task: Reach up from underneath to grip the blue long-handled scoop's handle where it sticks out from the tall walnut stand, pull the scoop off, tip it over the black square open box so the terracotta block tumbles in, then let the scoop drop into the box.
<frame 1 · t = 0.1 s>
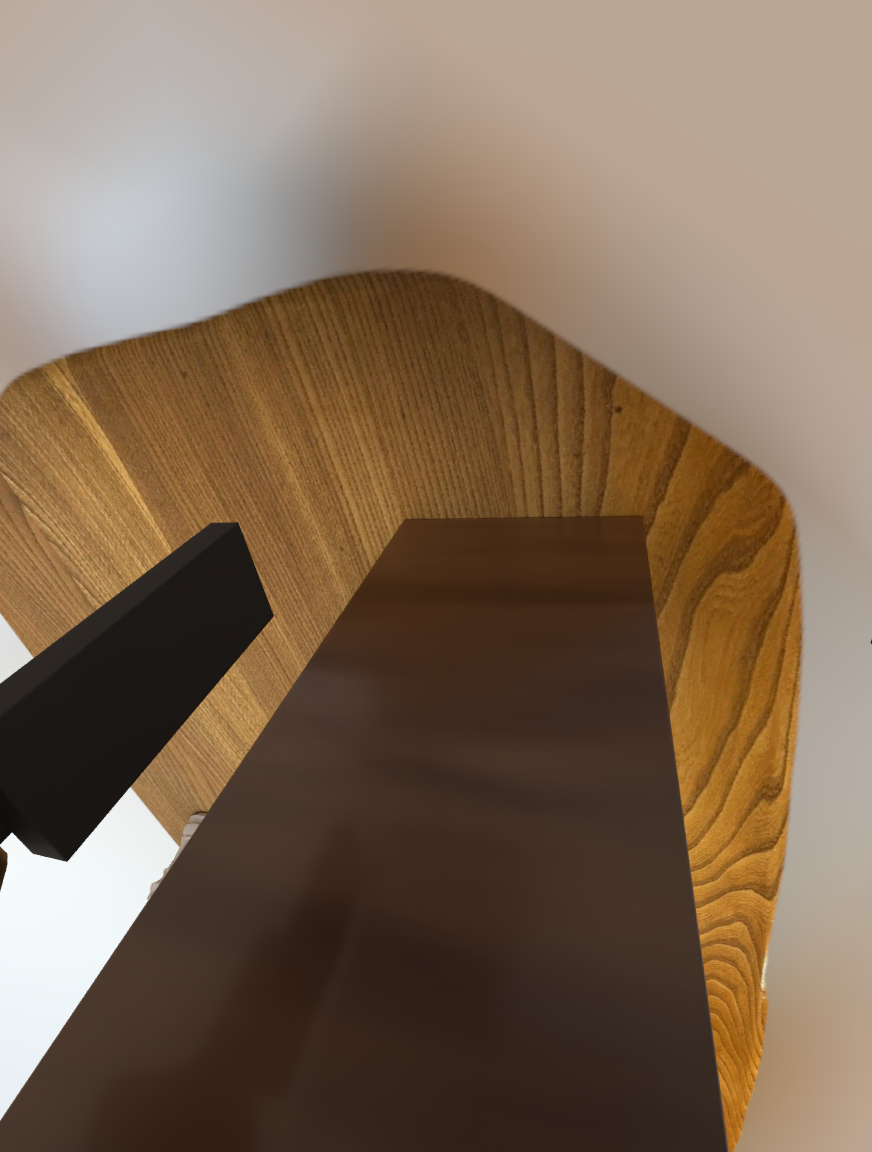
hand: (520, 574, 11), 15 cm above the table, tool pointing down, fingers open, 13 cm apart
rook chess piece: (212, 822, 55), on the table
stand: (520, 583, 29), on the table
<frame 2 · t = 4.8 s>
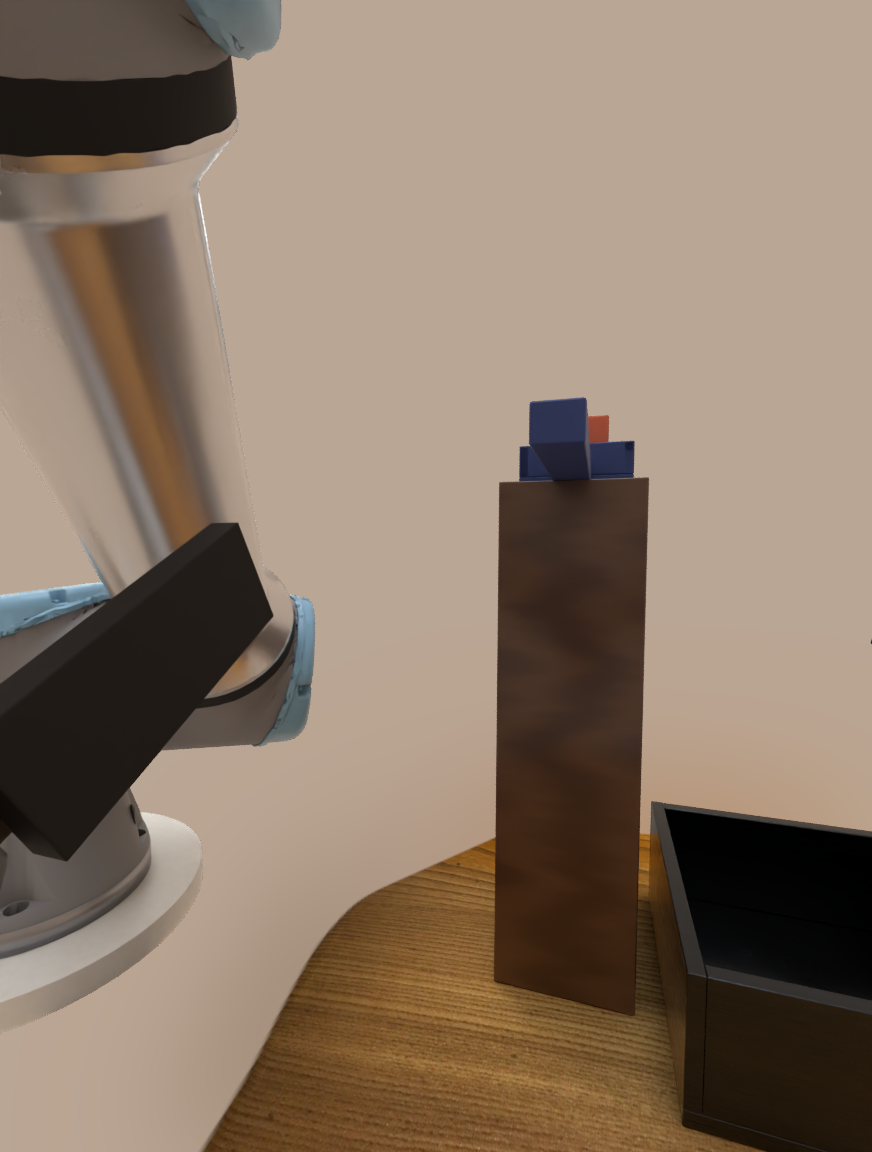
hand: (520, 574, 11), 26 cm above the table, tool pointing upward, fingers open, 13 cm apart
block: (576, 482, 36), point 31 cm above the table, touching blue long-handled scoop
blue long-handled scoop: (574, 487, 33), point 30 cm above the table, touching block, stand
stand: (567, 926, 36), on the table
black square open box: (821, 1018, 29), on the table
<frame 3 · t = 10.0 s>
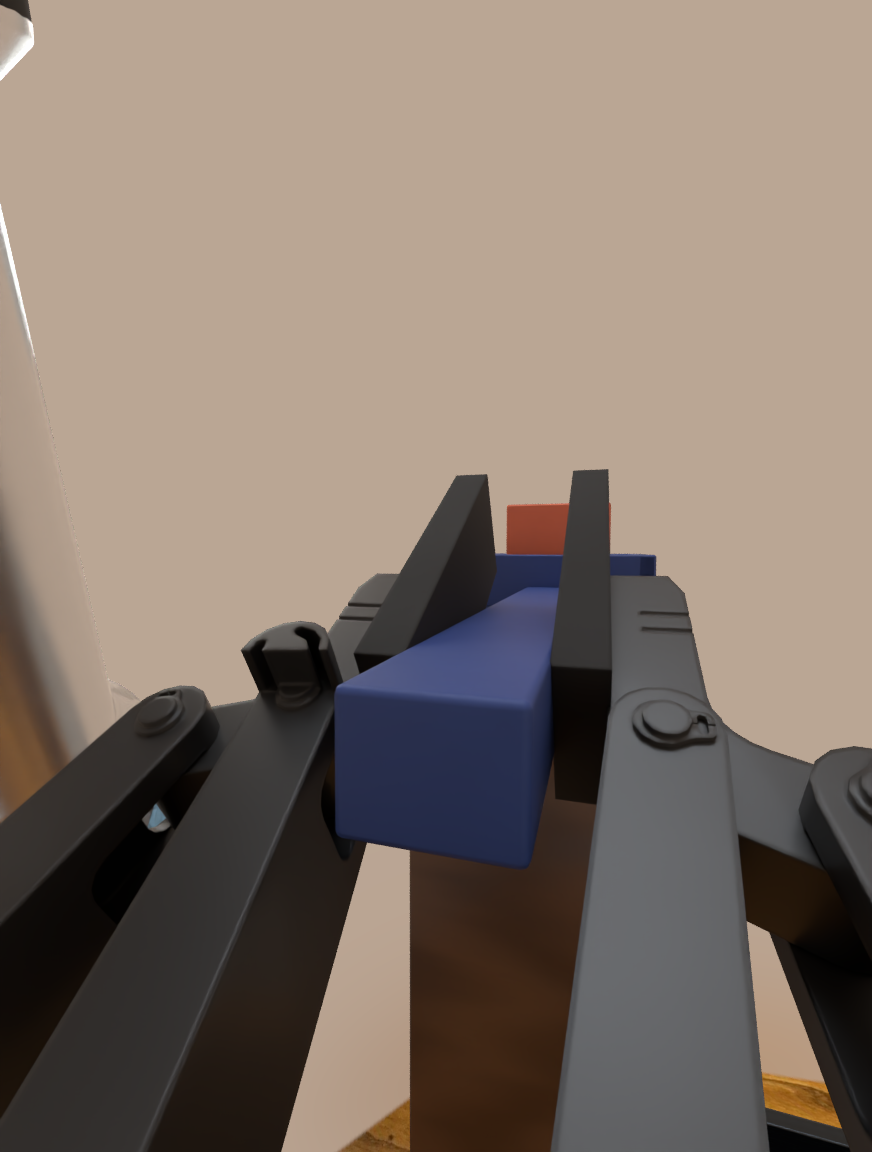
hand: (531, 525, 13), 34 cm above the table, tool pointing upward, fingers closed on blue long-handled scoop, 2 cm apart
block: (559, 600, 23), point 31 cm above the table, touching blue long-handled scoop
blue long-handled scoop: (551, 632, 19), point 30 cm above the table, touching block, gripper, stand
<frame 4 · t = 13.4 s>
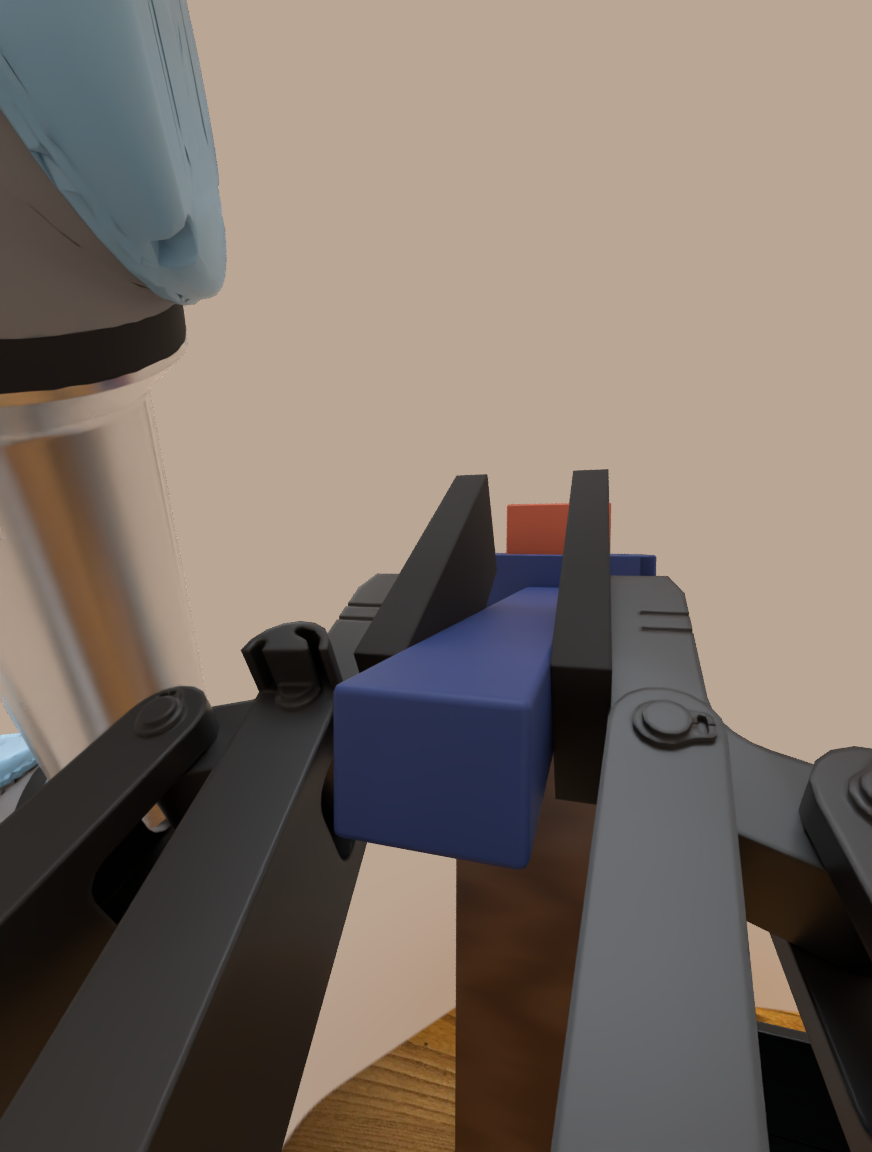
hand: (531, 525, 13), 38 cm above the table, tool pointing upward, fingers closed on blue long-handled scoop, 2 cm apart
block: (559, 600, 23), point 35 cm above the table, touching blue long-handled scoop
blue long-handled scoop: (551, 632, 19), point 34 cm above the table, touching block, gripper
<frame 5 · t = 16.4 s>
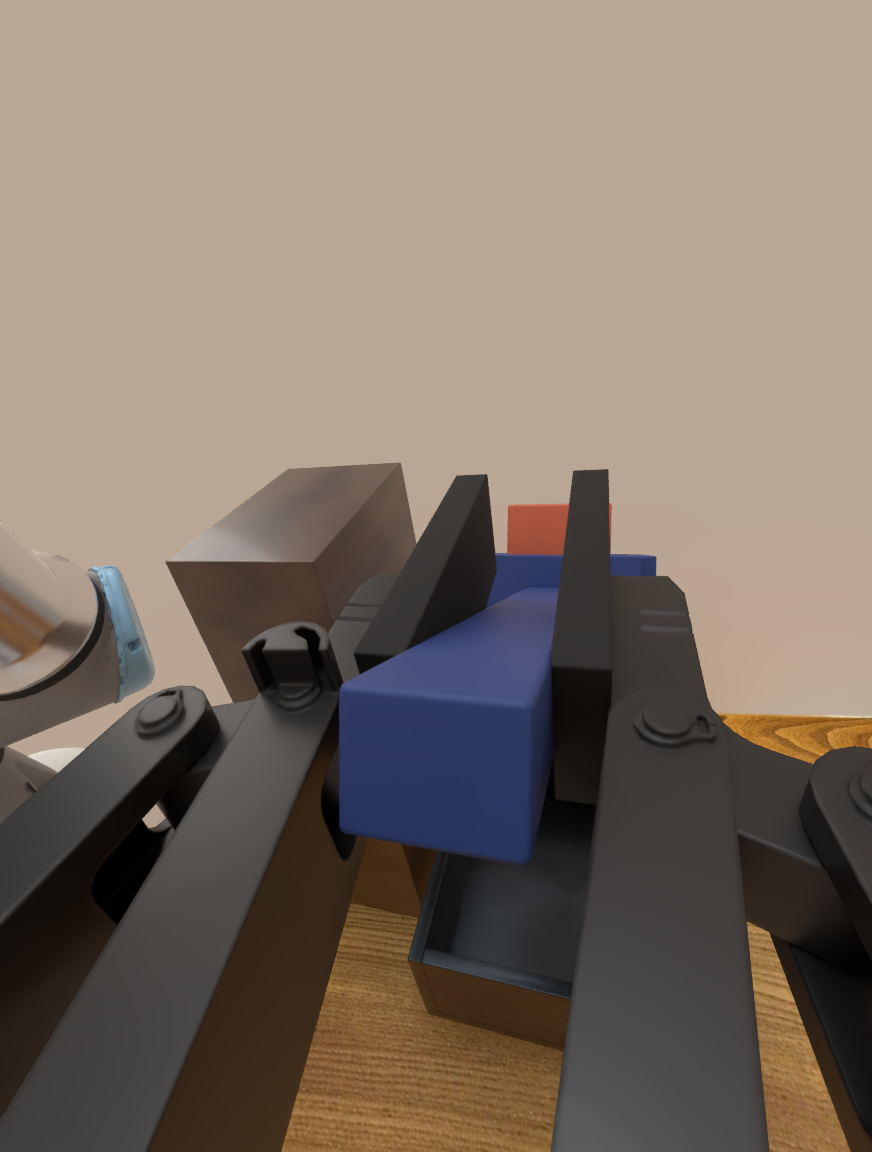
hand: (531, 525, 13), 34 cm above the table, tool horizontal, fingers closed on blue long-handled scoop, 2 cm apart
block: (559, 600, 23), point 27 cm above the table, tilted 30°, touching blue long-handled scoop
blue long-handled scoop: (551, 632, 19), point 28 cm above the table, tilted 30°, touching block, gripper
stand: (400, 833, 44), on the table
black square open box: (570, 903, 37), on the table
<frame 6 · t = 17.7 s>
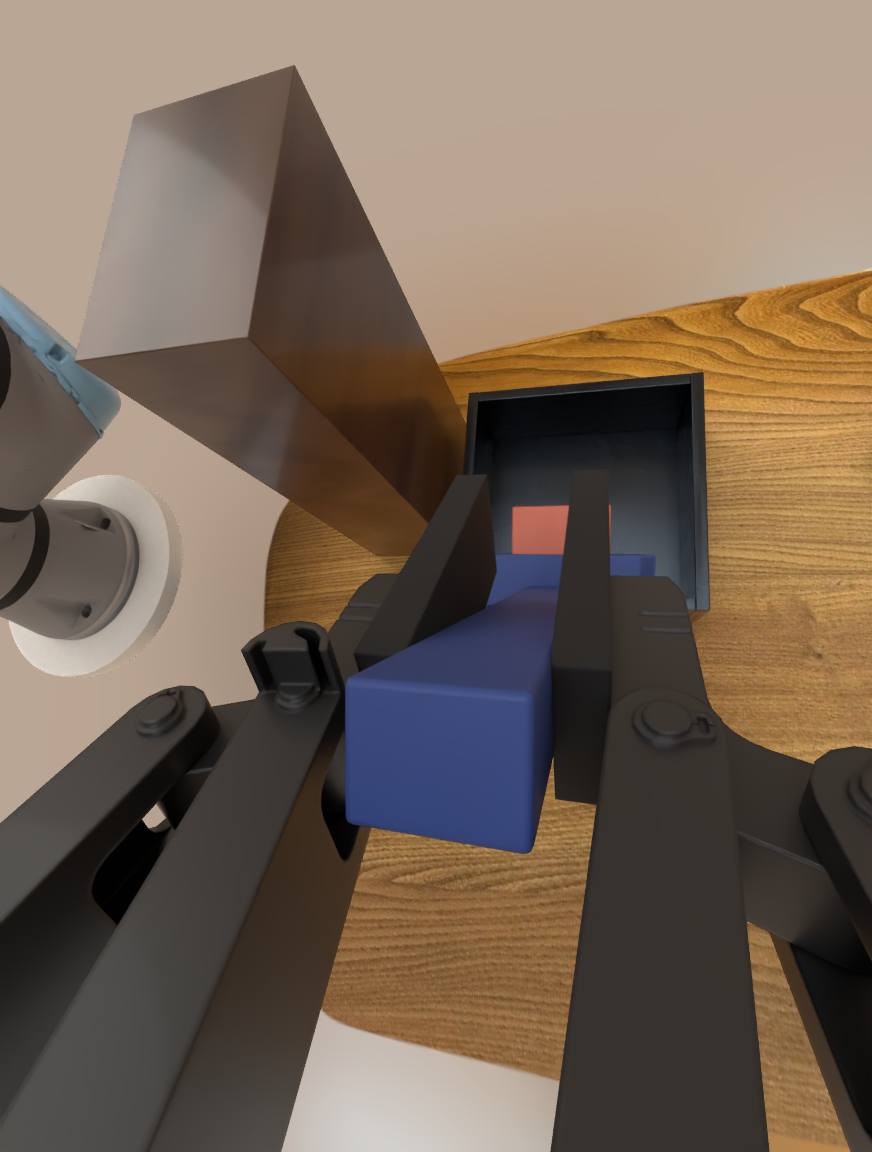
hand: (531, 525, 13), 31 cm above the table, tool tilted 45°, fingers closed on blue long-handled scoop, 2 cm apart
block: (562, 597, 24), point 19 cm above the table, tilted 75°, touching blue long-handled scoop
blue long-handled scoop: (552, 631, 19), point 24 cm above the table, tilted 75°, touching block, gripper
stand: (422, 493, 48), on the table
black square open box: (579, 521, 44), on the table
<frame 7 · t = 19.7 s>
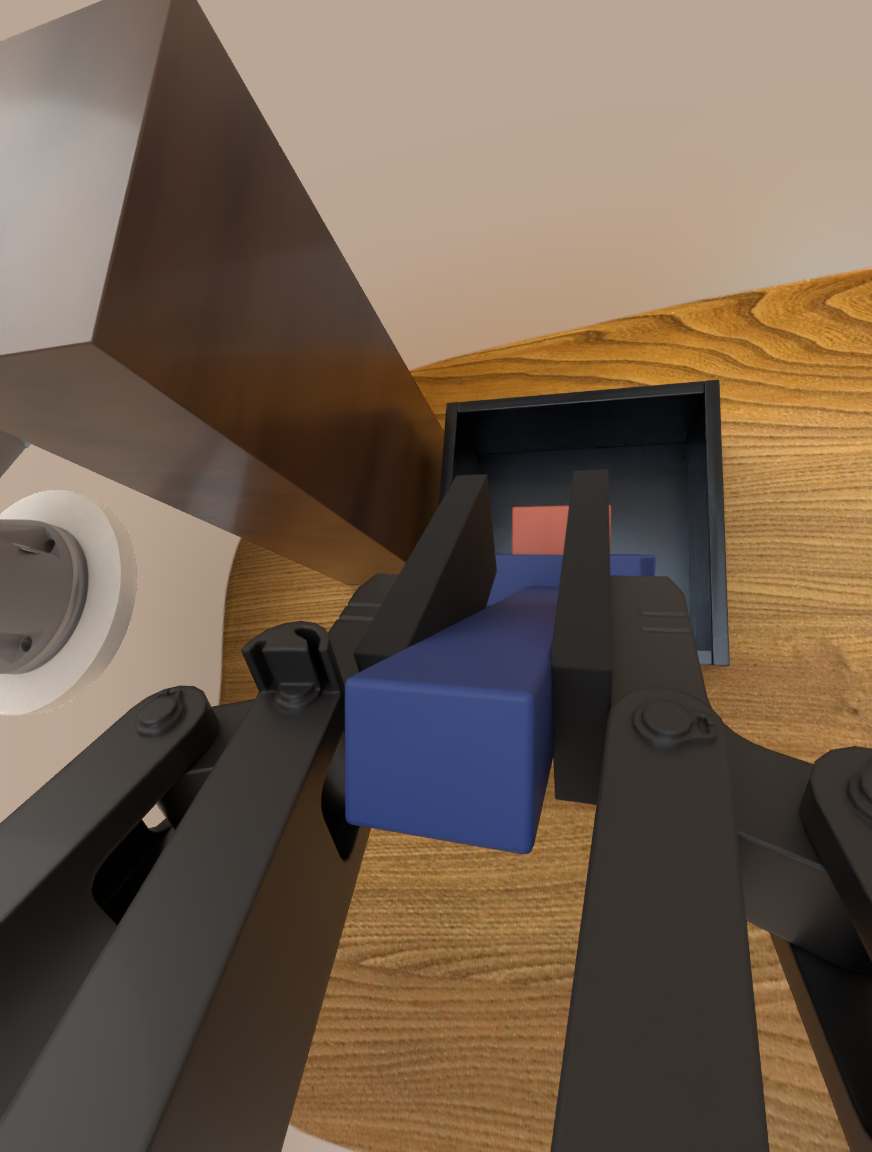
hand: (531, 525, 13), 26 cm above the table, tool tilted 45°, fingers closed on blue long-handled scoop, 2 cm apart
block: (562, 598, 24), point 14 cm above the table, tilted 75°, touching blue long-handled scoop
blue long-handled scoop: (552, 631, 19), point 19 cm above the table, tilted 75°, touching block, gripper
stand: (398, 513, 43), on the table
black square open box: (574, 549, 38), on the table
when the fingers open (23 cm above the table, at t = 20.7 s): blue long-handled scoop drops 9 cm and tips over, resting on black square open box.
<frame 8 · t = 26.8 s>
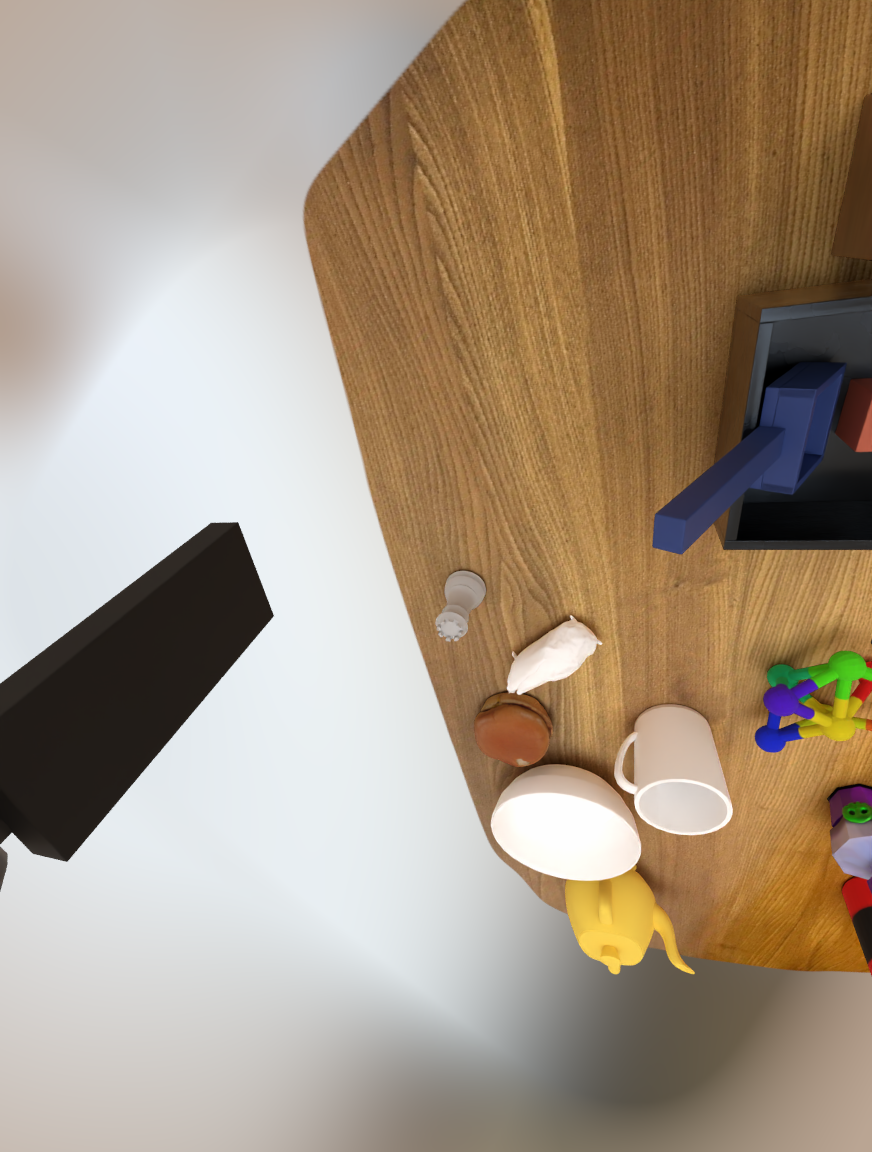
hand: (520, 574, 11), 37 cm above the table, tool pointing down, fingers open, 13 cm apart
white cloth bag: (553, 639, 58), on the table
rook chess piece: (467, 584, 57), on the table
potion bottle: (856, 798, 59), on the table
blue long-handled scoop: (753, 442, 35), point 7 cm above the table, tilted 60°, touching black square open box
mug: (661, 724, 61), on the table
bowl: (566, 788, 71), on the table
teapot: (623, 874, 79), on the table
decorative model: (821, 675, 52), on the table
black square open box: (845, 404, 39), on the table
burger: (515, 716, 66), on the table
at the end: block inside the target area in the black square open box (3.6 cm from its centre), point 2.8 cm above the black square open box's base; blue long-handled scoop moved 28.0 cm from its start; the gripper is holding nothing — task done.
